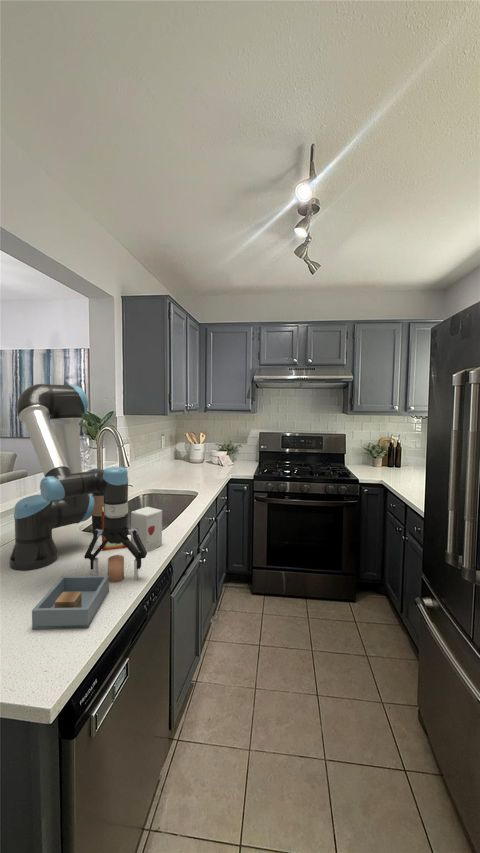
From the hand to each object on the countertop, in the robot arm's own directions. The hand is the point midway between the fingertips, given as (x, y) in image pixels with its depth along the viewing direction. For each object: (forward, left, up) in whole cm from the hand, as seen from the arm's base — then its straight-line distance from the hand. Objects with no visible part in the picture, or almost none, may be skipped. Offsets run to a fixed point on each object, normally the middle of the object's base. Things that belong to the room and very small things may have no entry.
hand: (116, 578), depth 119 cm
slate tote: (-7, -17, 0) cm, 18 cm away
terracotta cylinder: (0, 0, 0) cm, 0 cm away
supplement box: (+5, +26, 0) cm, 27 cm away
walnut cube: (-7, -21, +1) cm, 22 cm away
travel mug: (-18, +42, 0) cm, 46 cm away
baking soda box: (-8, +27, 0) cm, 28 cm away
